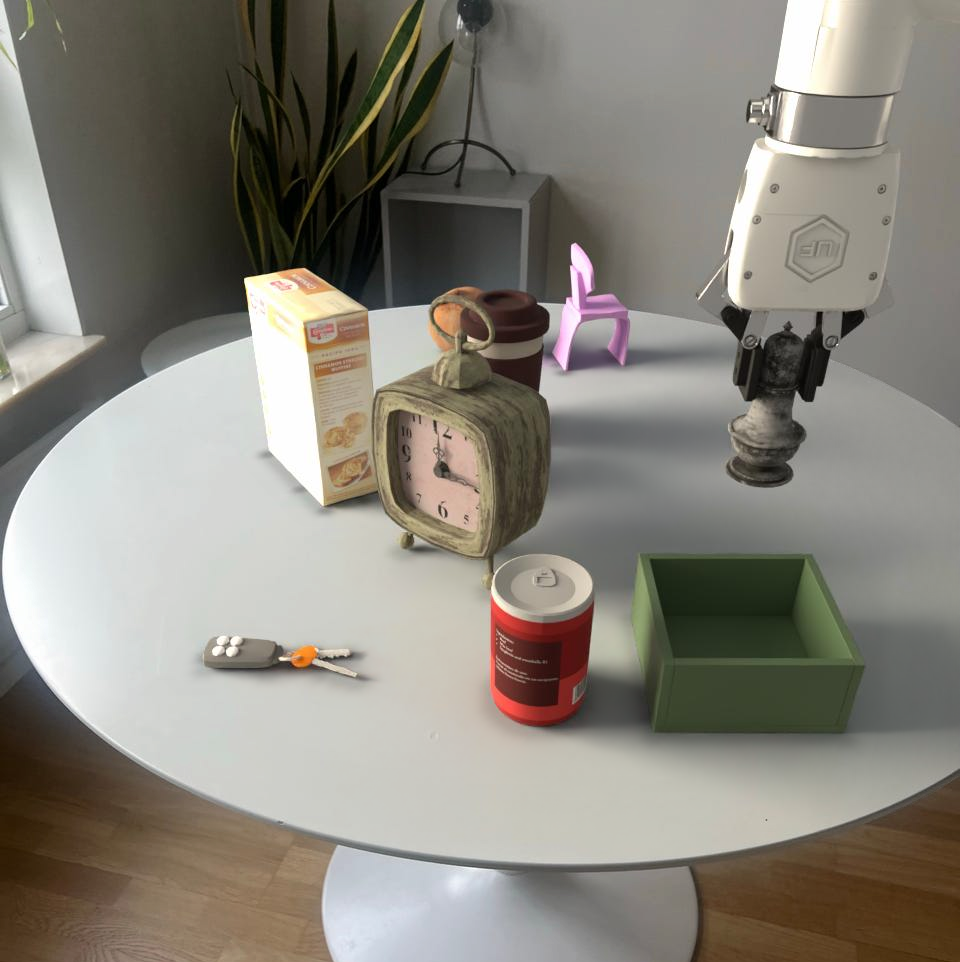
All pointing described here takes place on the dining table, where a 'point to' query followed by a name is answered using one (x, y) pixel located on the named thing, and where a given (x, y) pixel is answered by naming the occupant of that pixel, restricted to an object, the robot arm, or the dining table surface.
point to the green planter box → (742, 644)
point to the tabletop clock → (461, 450)
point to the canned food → (540, 637)
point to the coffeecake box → (315, 381)
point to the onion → (451, 316)
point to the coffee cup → (510, 334)
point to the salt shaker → (770, 418)
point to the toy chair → (589, 311)
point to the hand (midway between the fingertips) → (775, 392)
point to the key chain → (265, 654)
